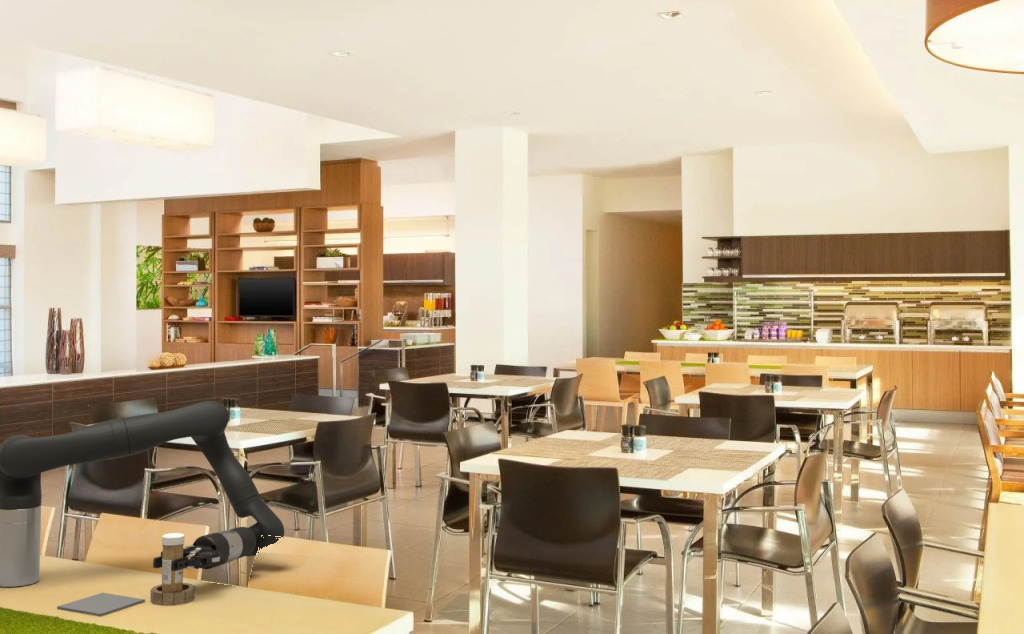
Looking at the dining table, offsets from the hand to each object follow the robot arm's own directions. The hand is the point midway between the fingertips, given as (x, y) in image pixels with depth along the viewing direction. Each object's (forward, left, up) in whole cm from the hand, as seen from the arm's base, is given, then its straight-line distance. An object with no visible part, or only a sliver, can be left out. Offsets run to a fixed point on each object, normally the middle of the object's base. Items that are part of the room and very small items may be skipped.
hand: (163, 564), depth 206 cm
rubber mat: (-10, -7, -8) cm, 15 cm away
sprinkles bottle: (0, +3, -8) cm, 8 cm away
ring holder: (0, +3, -8) cm, 8 cm away
